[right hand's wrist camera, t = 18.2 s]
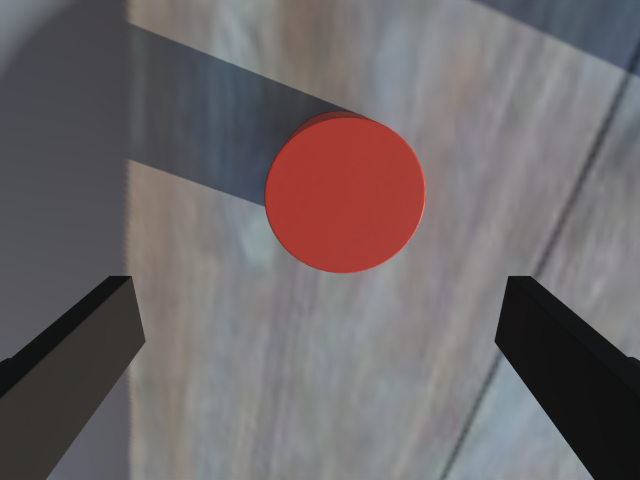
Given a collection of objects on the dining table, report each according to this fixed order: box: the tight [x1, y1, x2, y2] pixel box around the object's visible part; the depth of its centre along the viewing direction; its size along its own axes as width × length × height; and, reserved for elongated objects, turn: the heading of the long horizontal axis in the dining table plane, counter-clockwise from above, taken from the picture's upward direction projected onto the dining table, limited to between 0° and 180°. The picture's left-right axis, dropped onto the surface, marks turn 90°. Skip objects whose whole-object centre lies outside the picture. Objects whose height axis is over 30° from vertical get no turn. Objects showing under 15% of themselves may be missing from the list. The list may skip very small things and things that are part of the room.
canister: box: [264, 111, 425, 273], centre depth 22 cm, size 8×8×8 cm
